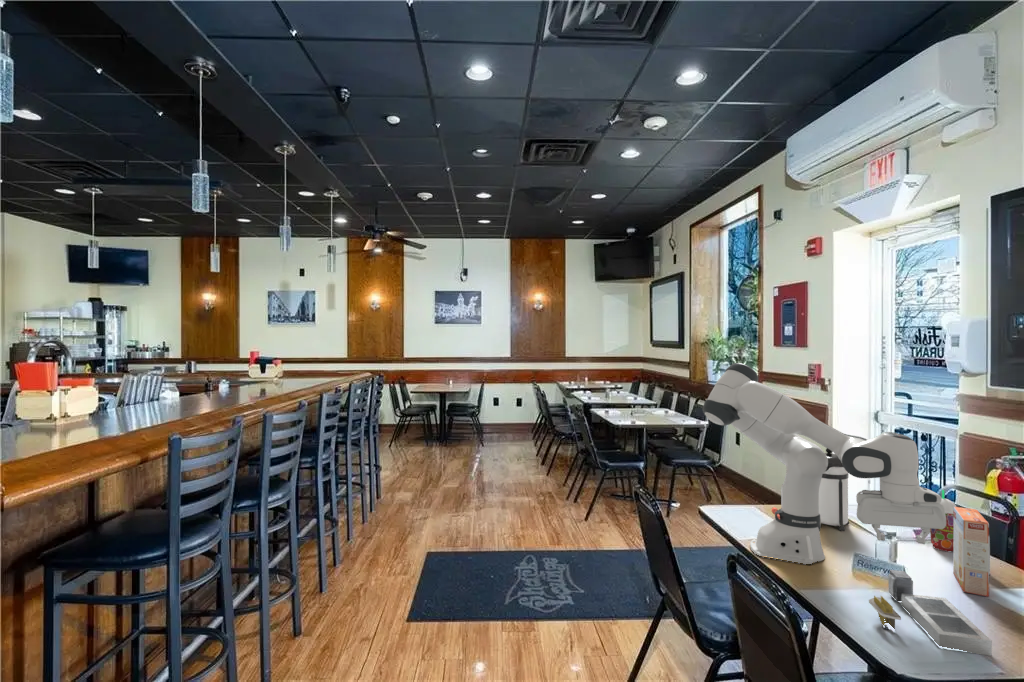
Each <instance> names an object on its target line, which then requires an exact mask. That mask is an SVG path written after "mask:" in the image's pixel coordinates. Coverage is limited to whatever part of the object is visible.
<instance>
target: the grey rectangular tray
mask: <svg viewBox="0 0 1024 682" xmlns="http://www.w3.org/2000/svg"><path fill="white" fill-rule="evenodd" d="M901 600H902V603H901V607H902V606H903V607H904V608H905V609H906V610H907V611H908V612H909V613H910V615H911V616H912V617H913V618H914V619H915V620H916V621H917V622H918V623H919V624H920V625H921V626H922V627H923V628H924V629H925V630H926V631H927V632H928V634H929V635H930V636H931V637H932V638H933V639H934V641H935V642H936V643H937V644H938V645H939V646H942V647H947V648H951V649H953V648H954V649H959V650H963V651H967V652H972V653H971V654H974V653H976V654H975V655H982V656H990V657H992V656H993V653H992V652H993V648H992V647H993V640H992V639H991V638H990V637H988V636H987V635H986V634H985V632H983V631H982V630H981V629H980V628H979V627H978V626H976V625H975V624H974V623H973V622H972V621H971V620H970V619H969V618H968V617H967V616H966V615H964V614H963V612H962V611H960V610H959V609H958V607H956V606H955V605H954V604H953V603H951V602H950V601H949V600H948V599H947V598H946V597H938V596H937V597H936V596H930V595H929V596H928V595H919V594H913V595H912V594H903V593H901ZM903 607H902V608H903ZM904 608H903V609H904ZM910 615H909V616H910ZM911 616H910V617H911ZM912 617H911V618H912Z"/></svg>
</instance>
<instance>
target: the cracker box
mask: <svg viewBox="0 0 1024 682" xmlns="http://www.w3.org/2000/svg"><path fill="white" fill-rule="evenodd" d="M953 521H954V551H953V557H952V558H953V559H952V561H953V565H952V566H953V568H952V570H953V572H952V573H953V575H954V577H955V579H956V581H957V583H958V585H959V587H960V588H961V590H962V592H963V593H968V594H973V595H976V596H977V595H978V596H983V597H987V598H988V597H989V596H990V595H989V593H990V586H989V585H990V582H989V581H990V576H989V536H990V524H989V521H987V520H986V518H984V516H983V515H982V514H981V513H980V512H979V511H978V509H975V508H967V507H960V506H956V507H954V508H953Z"/></svg>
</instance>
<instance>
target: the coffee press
mask: <svg viewBox="0 0 1024 682" xmlns="http://www.w3.org/2000/svg"><path fill="white" fill-rule="evenodd" d="M824 453H825V454H826V456H827V458H828V467H827V469H826V471H825V472H824V473H823V474H822V478H821V482H820V487H819V514H820V518H821V524H824V525H828V526H834V527H836V528H837V529H838V530H839V532H845V531H846V529H845V525H847V526H848V525H849V524H850V521H849V477H850V476H849V475H850V474H849V473H848V472H847V471H846V470H845V469H844V467H843V465H842V463H841V461H840V459H839V458H838V457H837V455H836V454H835V453H833V452H832V451H831V450H830V449H828V448H825V452H824Z"/></svg>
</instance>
